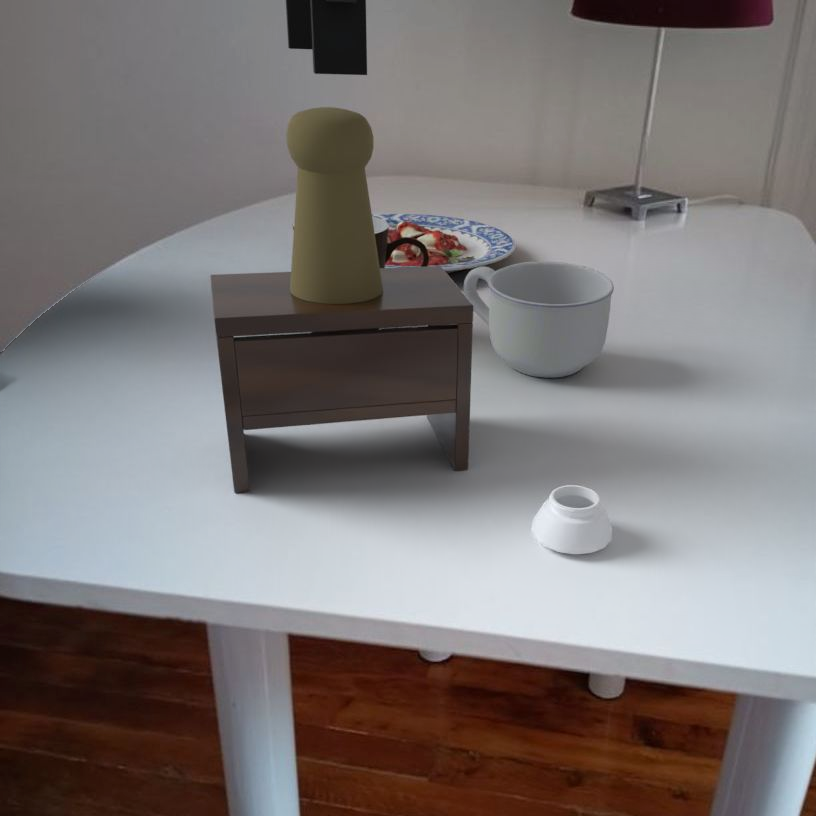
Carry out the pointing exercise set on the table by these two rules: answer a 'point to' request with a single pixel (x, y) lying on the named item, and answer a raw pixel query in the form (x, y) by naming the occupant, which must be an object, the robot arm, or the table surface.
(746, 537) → the table surface
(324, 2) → the robot arm
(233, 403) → the wooden nightstand
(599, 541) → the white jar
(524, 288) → the teacup
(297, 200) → the yellow tapered round-topped cylinder
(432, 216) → the ceramic plate
